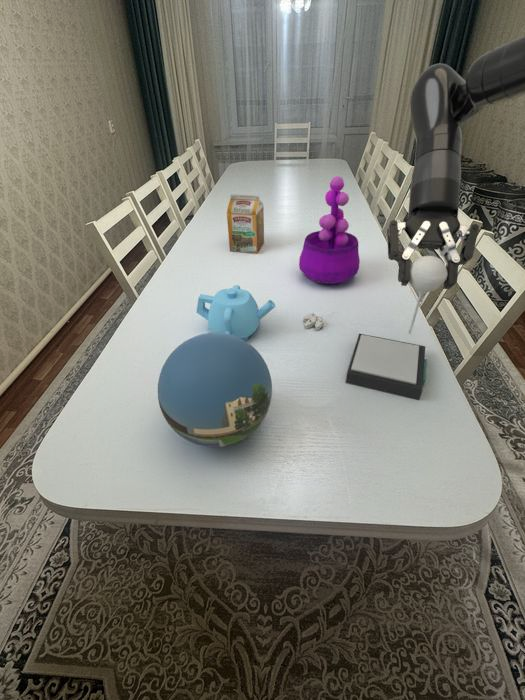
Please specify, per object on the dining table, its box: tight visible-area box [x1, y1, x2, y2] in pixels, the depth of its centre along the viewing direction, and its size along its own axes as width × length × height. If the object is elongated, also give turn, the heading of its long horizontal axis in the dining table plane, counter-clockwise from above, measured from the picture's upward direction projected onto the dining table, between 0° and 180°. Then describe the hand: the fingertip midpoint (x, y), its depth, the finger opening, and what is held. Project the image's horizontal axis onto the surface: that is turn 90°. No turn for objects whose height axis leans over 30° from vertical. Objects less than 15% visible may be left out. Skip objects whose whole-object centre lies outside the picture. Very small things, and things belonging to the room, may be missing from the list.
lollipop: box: [407, 255, 448, 335], centre depth 62 cm, size 6×6×15 cm
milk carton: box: [226, 193, 265, 255], centre depth 131 cm, size 11×11×19 cm
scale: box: [345, 333, 428, 401], centre depth 79 cm, size 16×15×4 cm
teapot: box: [196, 284, 276, 341], centre depth 90 cm, size 20×17×12 cm
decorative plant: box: [298, 176, 360, 284], centre depth 107 cm, size 19×18×30 cm
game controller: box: [302, 311, 335, 331], centre depth 96 cm, size 6×12×3 cm, turn 145°
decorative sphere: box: [157, 332, 273, 448], centre depth 63 cm, size 20×20×20 cm
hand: (426, 285), depth 58 cm, fingers closed on lollipop, 6 cm apart
